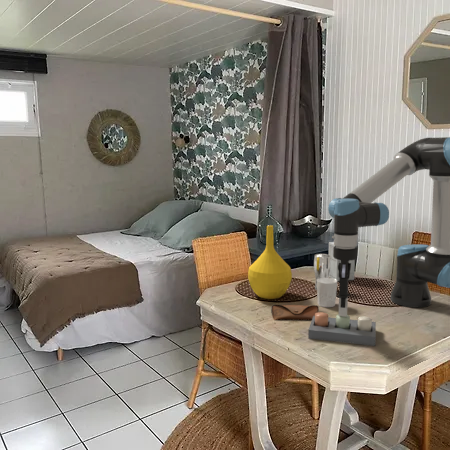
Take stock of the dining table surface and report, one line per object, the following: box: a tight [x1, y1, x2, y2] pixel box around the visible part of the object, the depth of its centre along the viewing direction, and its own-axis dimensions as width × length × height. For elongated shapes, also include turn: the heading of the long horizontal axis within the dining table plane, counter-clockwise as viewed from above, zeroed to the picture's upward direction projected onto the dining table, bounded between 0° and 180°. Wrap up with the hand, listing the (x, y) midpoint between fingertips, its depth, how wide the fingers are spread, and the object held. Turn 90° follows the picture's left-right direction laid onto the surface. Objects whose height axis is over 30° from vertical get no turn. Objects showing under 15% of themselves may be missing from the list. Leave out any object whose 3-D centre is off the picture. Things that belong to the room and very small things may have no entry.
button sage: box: [335, 313, 351, 329], centre depth 156 cm, size 4×4×4 cm
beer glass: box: [313, 253, 330, 291], centre depth 204 cm, size 7×7×15 cm
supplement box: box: [328, 241, 356, 282], centre depth 219 cm, size 10×9×17 cm
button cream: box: [357, 315, 373, 332], centre depth 154 cm, size 4×4×4 cm
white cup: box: [316, 277, 338, 308], centre depth 184 cm, size 8×8×10 cm
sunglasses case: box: [270, 304, 320, 321], centre depth 173 cm, size 18×7×7 cm, turn 88°
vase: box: [247, 224, 293, 300], centre depth 194 cm, size 18×18×30 cm
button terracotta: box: [315, 311, 329, 327], centre depth 158 cm, size 4×4×4 cm
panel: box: [307, 316, 377, 347], centre depth 156 cm, size 21×13×3 cm, turn 72°
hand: (342, 315), depth 155 cm, fingers closed
